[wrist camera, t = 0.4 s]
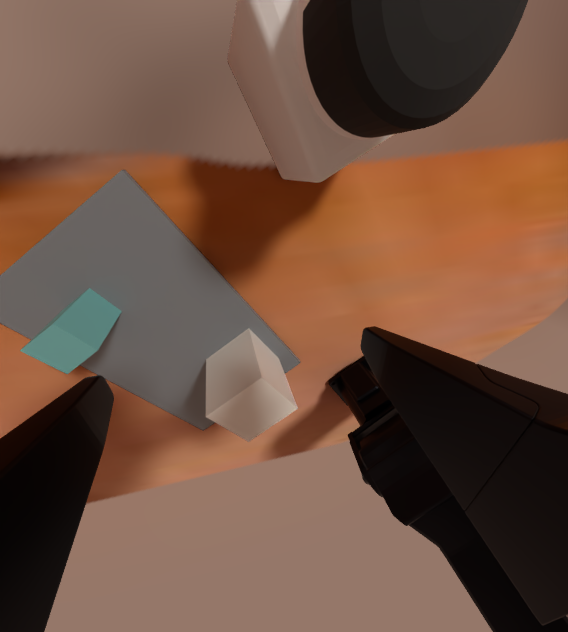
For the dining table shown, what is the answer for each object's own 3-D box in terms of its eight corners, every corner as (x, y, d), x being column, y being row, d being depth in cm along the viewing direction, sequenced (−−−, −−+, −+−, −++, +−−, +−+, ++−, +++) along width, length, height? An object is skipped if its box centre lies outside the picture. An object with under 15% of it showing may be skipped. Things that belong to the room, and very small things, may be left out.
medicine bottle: (364, 126, 18) (569, 68, 8) (281, 181, 18) (374, 193, 8) (329, -16, 14) (662, -526, 4) (224, 57, 14) (264, -224, 4)
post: (121, 311, 19) (97, 350, 15) (97, 330, 19) (67, 374, 15) (89, 287, 18) (52, 323, 13) (63, 309, 18) (20, 350, 14)
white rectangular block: (278, 358, 26) (297, 408, 20) (240, 385, 26) (248, 441, 21) (248, 328, 23) (261, 377, 17) (206, 359, 23) (205, 416, 18)
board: (298, 359, 27) (300, 362, 27) (203, 426, 29) (203, 430, 28) (124, 169, 15) (122, 169, 15) (-27, 301, 17) (-34, 305, 16)
